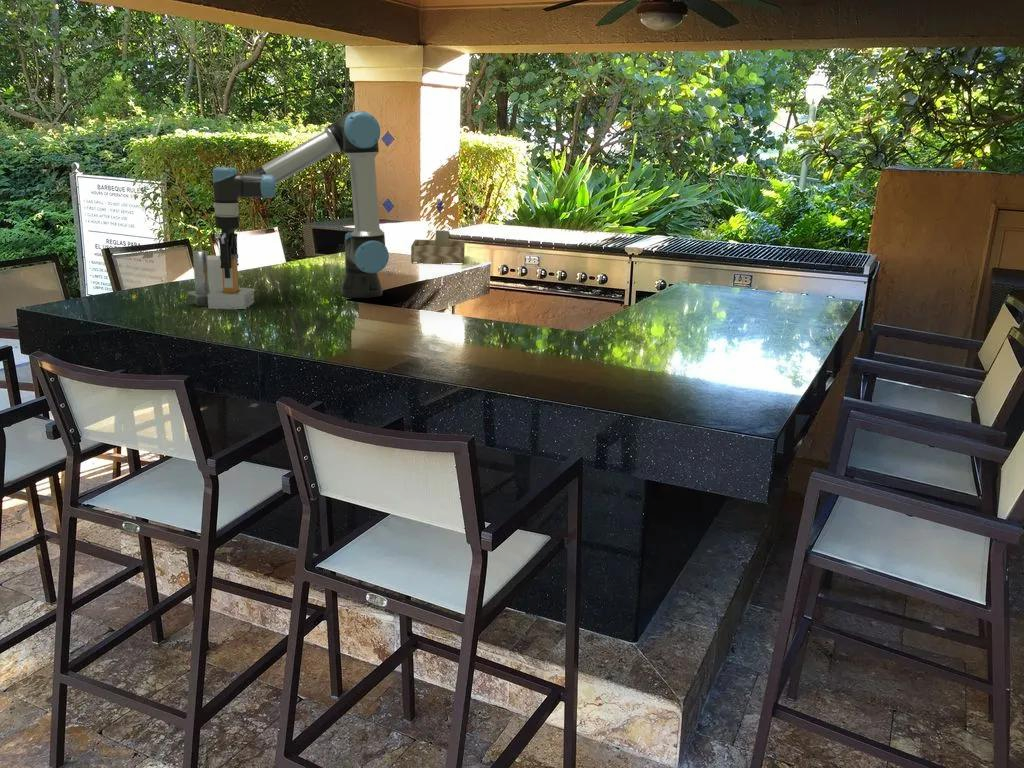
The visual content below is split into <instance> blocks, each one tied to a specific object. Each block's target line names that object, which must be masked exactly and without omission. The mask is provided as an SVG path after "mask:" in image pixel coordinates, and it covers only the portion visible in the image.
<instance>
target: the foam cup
mask: <svg viewBox="0 0 1024 768" xmlns="http://www.w3.org/2000/svg"><path fill="white" fill-rule="evenodd" d="M207 261H208V277H209V290H210V291H213V290H215V289H217V288H223V279H222V268H221V267H220V266H221V259H220V255H207Z"/></svg>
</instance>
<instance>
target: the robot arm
mask: <svg viewBox="0 0 1024 768" xmlns="http://www.w3.org/2000/svg"><path fill="white" fill-rule="evenodd" d="M380 136H381V126H380V124H379V121H378V120H377V118H376V117H375V116H374V115H373V114H371V113H369V112H367V111H364V110H357V111H350V112H346V113H345V114H344V115H342V116H341V117H340V118H338V119H337V120H335V121H334V122H332V123H330V124H329V125H327V126H326V127H324V131H323V132H320V133H319V134H317V135H316V136H313V137H312V138H310V139H308V140H306V141H305V142H303V143H300V144H298V145H297V146H296V147H293V148H291V149H290V150H288V151H286V152H285V153H282V154H281V155H279V156H277V157H275V158H273V159H271V160H270V161H268V162H266V163H265V164H263V165H261V166H260V167H257V168H255V169H253V170H252V171H248V172H246V173H244V174H242V173H238V171H237V168H236V167H227V166H226V167H224V166H222V167H221V166H219V167H216V166H215V167H214V168H213V169H212V189H213V203H214V204H213V205H212V207H213V208H214V215H216V216H215V217H214V221H215V223H214V224H215V225H214V226H215V228H217V229H221V232H220V235H219V237H218V245H219V256H220V258H221V266H220V267H221V268H223V271H224V288H233V273H232V268H231V254H238V233H235V229H239V228H240V217H239V214H240V209H239V198H253V199H256V198H259V199H260V198H261V199H268V198H269V199H270V198H271V199H272V198H275V196H276V185H277V184H279V183H281V182H282V181H285V180H287V179H289V178H290V177H292V176H294V175H295V174H297V173H299V172H301V171H302V170H305V169H306V168H309V167H310V166H312V165H314V164H316V163H317V162H319V161H321V160H323V159H325V158H327V157H328V156H330V155H332V154H334V153H335V152H336V153H339V154H340V153H342V152H344V153H343V154H344V156H346V157H347V158H348V159H349V160H348V161H349V170H350V171H349V172H350V183H351V193H352V194H351V197H352V210H353V221H354V223H353V225H354V230H353V231H351V232H349V231H348V232H346V233H345V235H344V255H345V256H344V257H345V258H344V259H345V260H344V261H345V262H344V264H345V266H344V267H345V273H344V274H345V275H344V278H343V281H342V284H341V288H340V295H342V296H343V297H348V298H355V299H356V298H361V299H367V298H368V299H369V298H377V297H381V296H383V287H382V284H381V281H380V278H379V275H378V274H379V272H382V271H383V270H384V269H385V268H386V267H387V265H388V263H389V258H390V254H389V253H390V252H389V250H388V248H387V246H386V237H385V236H386V235H385V232H384V231H383V230H382V229H381V227H380V226H381V225H380V215H379V201H378V187H377V186H378V185H377V172H376V171H377V170H376V160H375V159H376V156H377V155H378V154H379V151H380V149H379V141H380ZM238 258H239V257H238ZM238 258H237V267H238V266H240V265H239V263H238V262H239V260H238Z"/></svg>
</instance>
